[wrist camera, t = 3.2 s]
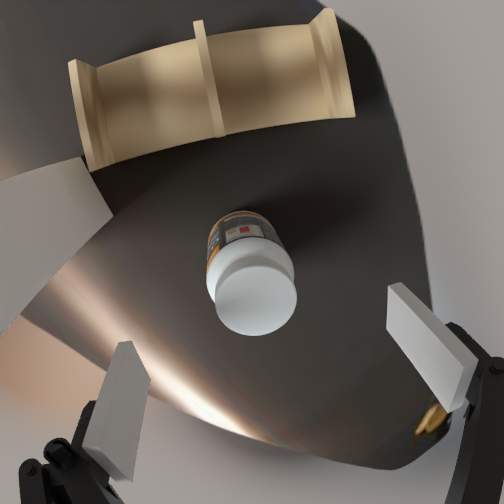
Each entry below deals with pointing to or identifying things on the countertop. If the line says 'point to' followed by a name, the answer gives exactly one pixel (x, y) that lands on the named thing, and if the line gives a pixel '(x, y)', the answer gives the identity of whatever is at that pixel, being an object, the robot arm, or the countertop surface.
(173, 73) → the rack
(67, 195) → the milk
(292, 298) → the pill bottle
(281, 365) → the countertop surface
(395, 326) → the robot arm
